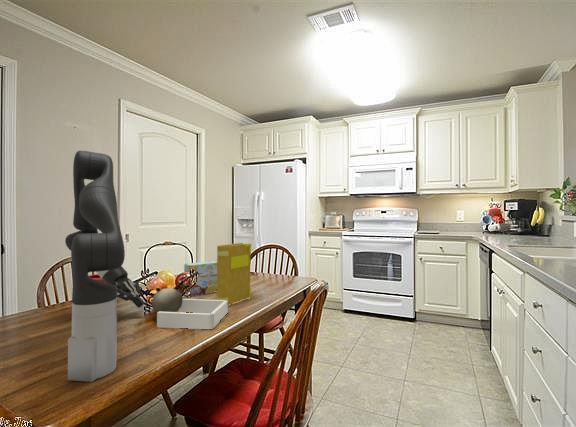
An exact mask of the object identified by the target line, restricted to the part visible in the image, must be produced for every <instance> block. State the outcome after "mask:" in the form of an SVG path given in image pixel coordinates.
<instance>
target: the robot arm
mask: <svg viewBox="0 0 576 427" xmlns="http://www.w3.org/2000/svg"><path fill="white" fill-rule="evenodd" d="M72 167H73V168H72V169H73V170H72V171H73V172H72V176H73V180H72V181H73V196H74V210H73V218H72V219H73V220H72V222H73V223H72V226H73V227H74V228H75V229H76V230H78V231H74V232H71V233H70V234H68V235H66V238H65V241H64V242H65V246H66V247H67V249H68V250H69V251H70V254H71V255H70V257H71V272H72V273H71V274H72V275H71V277H72V293H71V337H69V338H68V339H67V381H75V382H91V383H92V382H94V381H95V380H98V379H101V378H103V377H106V376H108V375H111V373H113V372H114V371H115V370H116V368H117V355H118V354H117V351H118V350H117V347H118V346H117V345H118V343H117V336H118V335H117V334H118V325H117V324H118V321H117V320H118V299H117V298H119V299H120V300H123V301H125V302H128V301H130V302H132V303H133V304H134V305H135V306H136V307H137V308H141V307H142V306H144V305H145V301H144V300H143V298H141V297H140V296H139V295H140V294H141V292H142V291H141V288H140V283H139V282H138V281H135V282H133V281H132V279H130V278H129V277H128V275H129V272H128V271H127V270H126V269H125V268H124V267H123V264H124V262H125V257H126V254H125V252H126V250H125V244H124V239H123V234H122V230H121V226H120V224H119V216H118V215H119V214H118V203H117V196H116V191H115V185H114V184H115V183H114V162H113V159H112V157H111V156H110V155H108V154H106V153H101V152H93V151H88V150H78V151H76V152H75V155H74V157H73V166H72ZM85 180H88V181H90V180H91V182H89V183H87V184H85ZM99 231H100V232H99ZM94 272H95V273H96V274H98V275H99V276H100V277H101V278H102V279H103V280H104V282H105V283H103V282H99V281H96V280H94V279H92V278H91V277H89V273H94Z"/></svg>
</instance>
